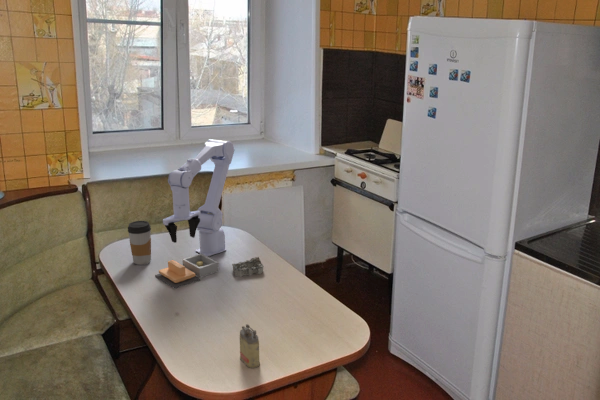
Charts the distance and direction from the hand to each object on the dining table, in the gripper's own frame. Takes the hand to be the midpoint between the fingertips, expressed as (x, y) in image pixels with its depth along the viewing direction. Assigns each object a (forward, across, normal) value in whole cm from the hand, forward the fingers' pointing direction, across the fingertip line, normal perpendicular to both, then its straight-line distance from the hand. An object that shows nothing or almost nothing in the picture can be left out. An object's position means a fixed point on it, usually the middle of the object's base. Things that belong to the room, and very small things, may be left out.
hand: (183, 239), depth 207 cm
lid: (+10, -8, -7) cm, 14 cm away
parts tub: (+10, +2, -7) cm, 13 cm away
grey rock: (+11, +14, -20) cm, 26 cm away
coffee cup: (+11, -10, +14) cm, 20 cm away
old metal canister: (+11, -21, -65) cm, 69 cm away
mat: (+10, -8, -7) cm, 15 cm away
